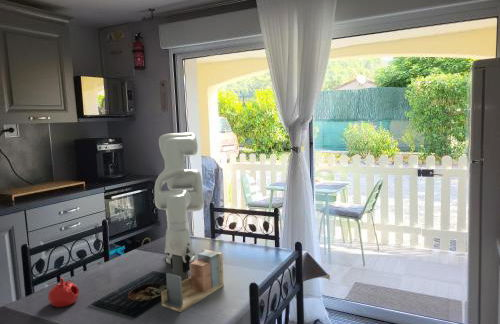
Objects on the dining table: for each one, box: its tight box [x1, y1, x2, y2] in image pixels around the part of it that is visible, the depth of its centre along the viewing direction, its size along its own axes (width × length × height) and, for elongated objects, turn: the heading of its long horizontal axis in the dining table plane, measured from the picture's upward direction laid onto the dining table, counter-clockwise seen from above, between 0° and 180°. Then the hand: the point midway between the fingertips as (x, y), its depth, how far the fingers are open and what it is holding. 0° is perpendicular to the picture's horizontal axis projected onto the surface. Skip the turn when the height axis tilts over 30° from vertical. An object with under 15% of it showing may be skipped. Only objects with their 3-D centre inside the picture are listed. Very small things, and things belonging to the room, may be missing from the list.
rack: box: [160, 248, 225, 313], centre depth 137 cm, size 9×23×13 cm, turn 146°
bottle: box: [172, 255, 189, 281], centre depth 150 cm, size 6×6×15 cm
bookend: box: [164, 272, 183, 308], centre depth 129 cm, size 6×2×10 cm, turn 56°
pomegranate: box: [47, 277, 80, 308], centre depth 135 cm, size 10×10×9 cm
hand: (180, 269), depth 151 cm, fingers closed on bottle, 5 cm apart
